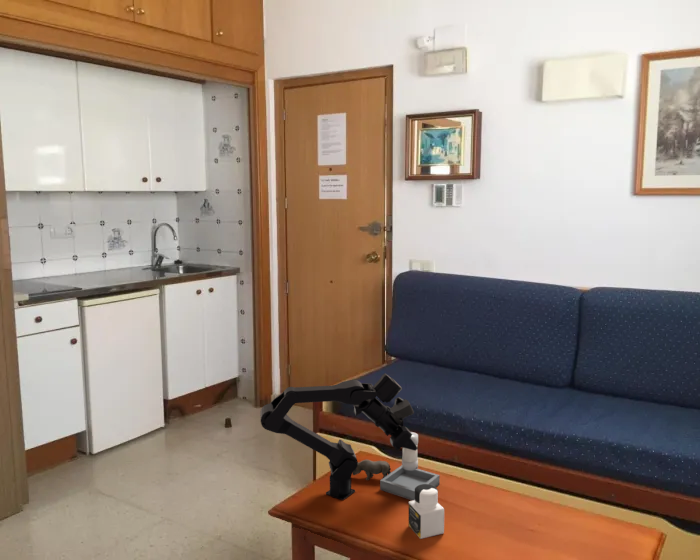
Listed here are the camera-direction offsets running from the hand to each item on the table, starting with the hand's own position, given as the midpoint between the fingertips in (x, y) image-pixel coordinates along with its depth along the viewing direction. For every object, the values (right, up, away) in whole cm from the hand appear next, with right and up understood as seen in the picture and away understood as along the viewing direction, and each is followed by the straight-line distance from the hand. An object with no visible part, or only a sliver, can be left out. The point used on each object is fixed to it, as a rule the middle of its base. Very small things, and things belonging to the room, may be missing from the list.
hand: (414, 445), depth 192 cm
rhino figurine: (-13, -12, +8) cm, 20 cm away
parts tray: (-1, -13, +2) cm, 13 cm away
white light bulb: (-1, -7, +1) cm, 7 cm away
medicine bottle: (+1, -17, -21) cm, 27 cm away
